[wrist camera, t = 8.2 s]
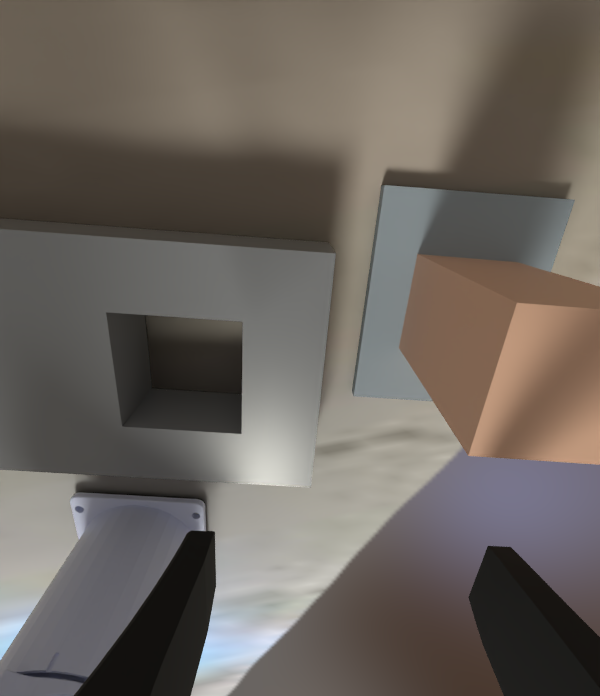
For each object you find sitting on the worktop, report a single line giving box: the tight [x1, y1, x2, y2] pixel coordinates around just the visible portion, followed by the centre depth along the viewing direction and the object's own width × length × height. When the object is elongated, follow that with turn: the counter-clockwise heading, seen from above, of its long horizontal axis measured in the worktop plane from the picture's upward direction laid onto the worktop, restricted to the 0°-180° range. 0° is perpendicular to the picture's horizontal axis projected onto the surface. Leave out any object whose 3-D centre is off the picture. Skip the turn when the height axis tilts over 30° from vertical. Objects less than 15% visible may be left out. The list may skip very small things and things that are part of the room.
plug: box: [399, 254, 600, 465], centre depth 13 cm, size 4×4×8 cm
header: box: [0, 218, 336, 488], centre depth 17 cm, size 11×16×4 cm
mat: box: [352, 185, 575, 401], centre depth 17 cm, size 10×8×1 cm
